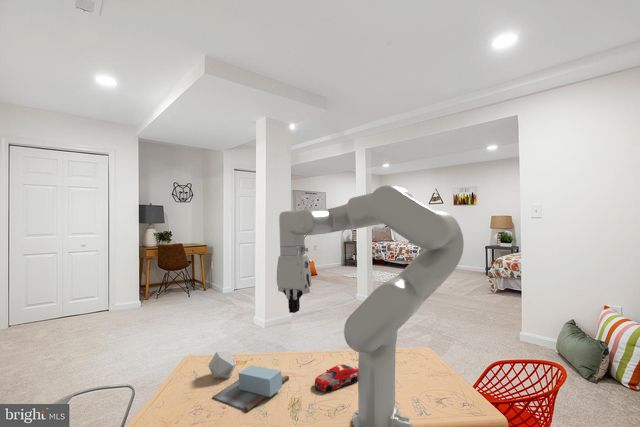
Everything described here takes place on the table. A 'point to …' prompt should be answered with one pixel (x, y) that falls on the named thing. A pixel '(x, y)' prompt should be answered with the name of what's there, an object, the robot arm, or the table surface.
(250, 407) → the mat
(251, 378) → the tall block
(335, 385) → the race car
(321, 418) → the table surface
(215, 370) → the die
